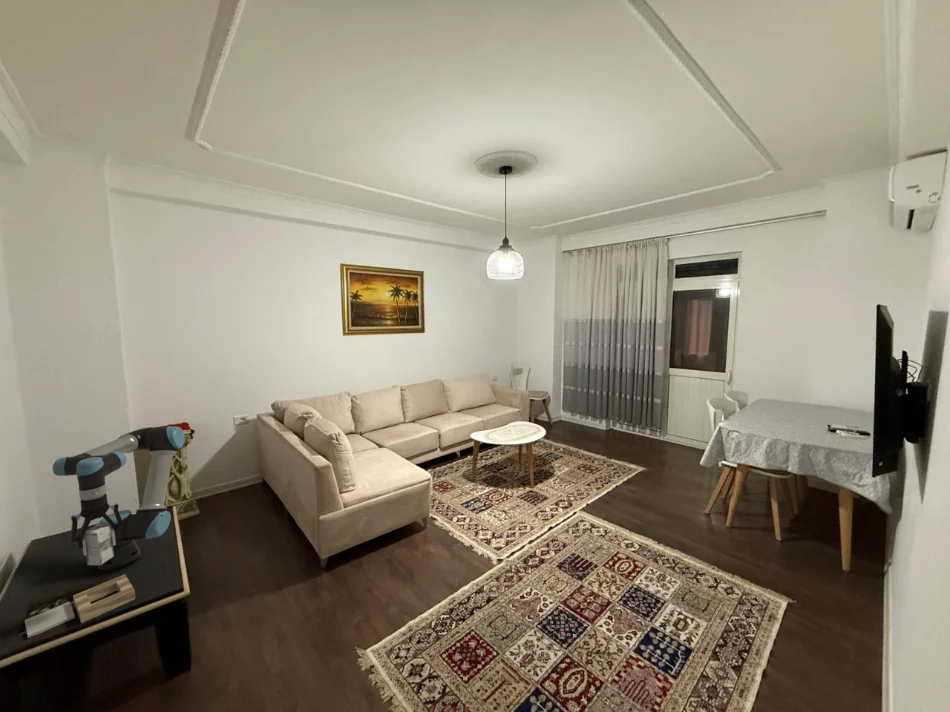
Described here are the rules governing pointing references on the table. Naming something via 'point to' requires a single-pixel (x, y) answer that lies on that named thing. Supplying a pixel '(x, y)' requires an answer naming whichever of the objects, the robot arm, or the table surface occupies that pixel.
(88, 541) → the syrup box
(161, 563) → the table surface
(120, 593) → the socket block
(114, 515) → the robot arm
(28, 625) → the mat
